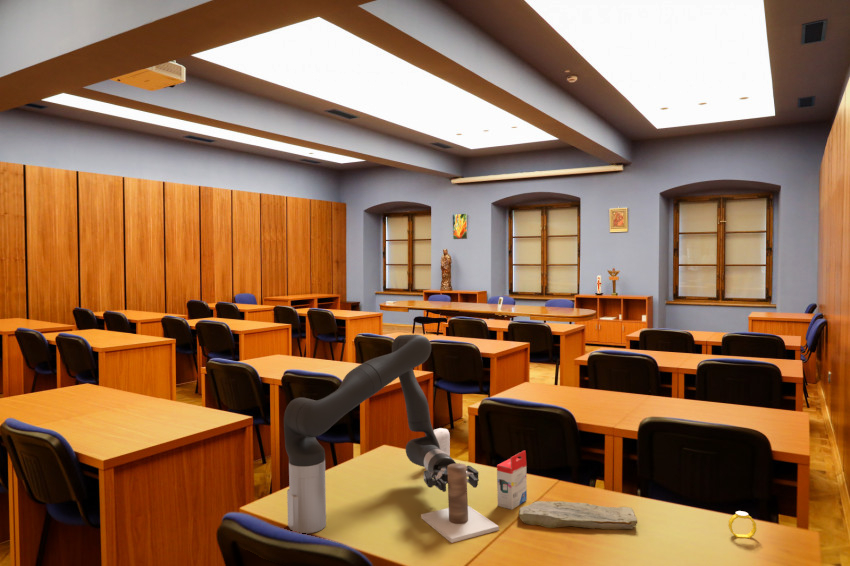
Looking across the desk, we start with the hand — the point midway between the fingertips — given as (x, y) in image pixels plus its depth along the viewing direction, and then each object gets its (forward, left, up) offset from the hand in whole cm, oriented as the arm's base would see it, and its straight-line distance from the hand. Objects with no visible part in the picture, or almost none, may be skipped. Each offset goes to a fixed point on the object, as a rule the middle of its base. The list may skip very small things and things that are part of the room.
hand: (460, 486), depth 148 cm
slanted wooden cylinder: (0, +1, -9) cm, 10 cm away
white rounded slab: (+17, +43, -11) cm, 48 cm away
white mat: (0, +1, -10) cm, 11 cm away
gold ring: (+57, -39, -11) cm, 70 cm away
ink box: (+20, +5, -11) cm, 24 cm away
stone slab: (+29, -12, -11) cm, 33 cm away
